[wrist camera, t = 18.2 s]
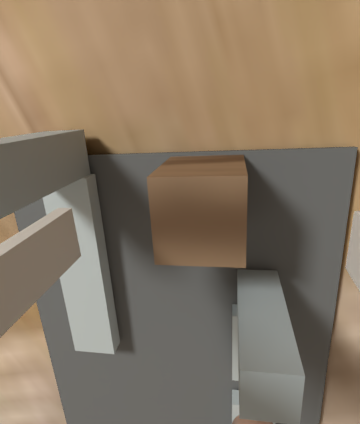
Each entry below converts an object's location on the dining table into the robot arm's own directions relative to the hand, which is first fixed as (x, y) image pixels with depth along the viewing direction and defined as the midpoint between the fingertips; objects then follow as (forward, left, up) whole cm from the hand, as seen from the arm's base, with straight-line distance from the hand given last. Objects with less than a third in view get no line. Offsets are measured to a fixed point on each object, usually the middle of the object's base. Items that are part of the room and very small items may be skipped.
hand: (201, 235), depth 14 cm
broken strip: (+17, +4, -10) cm, 21 cm away
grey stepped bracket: (+6, -11, -10) cm, 16 cm away
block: (+1, 0, -10) cm, 10 cm away
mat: (+13, -4, -10) cm, 17 cm away
